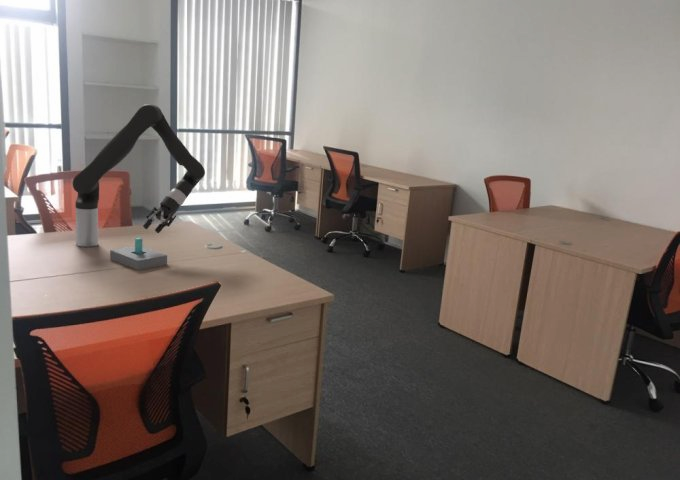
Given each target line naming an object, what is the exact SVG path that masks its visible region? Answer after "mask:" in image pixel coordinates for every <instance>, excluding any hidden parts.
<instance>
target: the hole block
mask: <svg viewBox="0 0 680 480" xmlns="http://www.w3.org/2000/svg"><path fill="white" fill-rule="evenodd" d="M109 251H110V252H109V259H110V260H111V261H114V262H116V263H119V264H122V265H124V266H127V267H130V268H132V269H134V270H136V271H141V270H145V269H146V270H147V269H151V268H156V267H161V266H166V265H168V255H167V254H164V253H162V252H159V251H156V250H154V249H150V248H148V247H145V246H143V245H142V254H139V255H136V254H135V245H134V246H127V247H120V248H115V249H114V248H113V249H110V250H109Z"/></svg>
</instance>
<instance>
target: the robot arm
mask: <svg viewBox="0 0 680 480" xmlns="http://www.w3.org/2000/svg"><path fill="white" fill-rule="evenodd" d="M149 128H152V129H153V130H154V131H155V132H156V133H157V135H158V136H159V137H160V138H161V140H162V142H163V143H164V146H165V148H166V149H167V151H168V153H169V154H170V155H171V156H172V158H173V159H174V160H175V162H176V163H177V164H178V165H179V166H182V167H184V169H185V170H186V171H185V174H183V176H182V177H181V178H180V179H179V181H178V182H177V183H176V184H175V185H174V186H173V188H172V189H171V190H170V191H169V192H168V193H167V194H166V196H165V197H164V198H163V199H162V200H161V202H160V203H159V205H160V207H158V208H157V207H156V206H154V207H153V208H152V209H151V210H150V211H149V212H148V214H147V215H145V218H146V219H147V220H146V221H145V222H144V224H143V225H142V227H143V228H144V229H145V230H148V228H149V227H150V226H151V225H152V224H153V222H157V221H160V223H159V224H158V225H157V226H156V227H155V229H154V232H155V233H157V234H159V233H161V232H162V230H163V229H164V228H166V227H170V226H171V225H172V223H173V221H174V220H175V219H176V218H177V215H176V214H177V211H178V210H179V209H180V208H181V206H182V205H183V204H184V202H185V201H186V199H187V198H188V196H189V195H190V194H191V193H192V191H193V189H194V188H195V187H196V186H197V185H198V183H200V181H201V180H203V178H204V176H205V174H206V170H205V168H204V166H203V164H202V163H201V162H200V161H199V160H197V158H195V157H194V156H193V155H192V154H191V152H190V151H189V150H188V149H187V147H186V146H185V145H184V143H183V142H182V141H181V140H180V139H179V137H178V136H177V134H176V133H175V132H174V131H173V129H172V127H171V126H170V124H169V122H168V120H167V119H166V117H165V115H164V113H163V112H162V110H161V108H160V107H159V106H157V105H155V104H148V103H145V104H143V105H141V106H140V107H139V108H138V109H137V110H136V112H135V114H133V116H132V117H131V118H130V119H129V121H128V122H127V124H126V125H125V126H124V127H122V129H120V130H119V131H118V132H117V133H116V134H114V136H113V137H112V138H111V139H110V140H109V141H107V143H106V144H105V145H104V147H103V148H102V149H101V150H100V151H99V152H98V153H97V155H96V156H95V158H94V159H93V160H92V161H91V162H90V163H89V164H88V165H87V166H86V167H84V169H82V170H81V171H80V172H79V173H78V174H76V175H75V176H74V177H73V179H72V188H73V190H74V191H76V193H77V197H76V200H75V225H74V226H75V244H76V246H78V247H84V248H86V247H87V248H89V247H96V246H98V245H99V201H100V180H101V178H102V177H104V176H105V174H107V173H108V172H109V171H110V170H112V169H113V168H115V167H116V166H117V165H118V164H120V163H121V162H122V161H123V160H124V159H125V158H126V157H127V156H128V155H129V154H130V153H131V151H132V150H133V148H134V146H135V145H136V143H137V141H138V139H139V138H140V137H141V136H142V135H143V134H144V133H145V132H146V131H147V130H148V129H149Z"/></svg>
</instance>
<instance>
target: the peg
mask: <svg viewBox="0 0 680 480" xmlns="http://www.w3.org/2000/svg"><path fill="white" fill-rule="evenodd" d="M134 246H135V254H136V255H139V254H142V246H143V238H142V237H136V238H134Z"/></svg>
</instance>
